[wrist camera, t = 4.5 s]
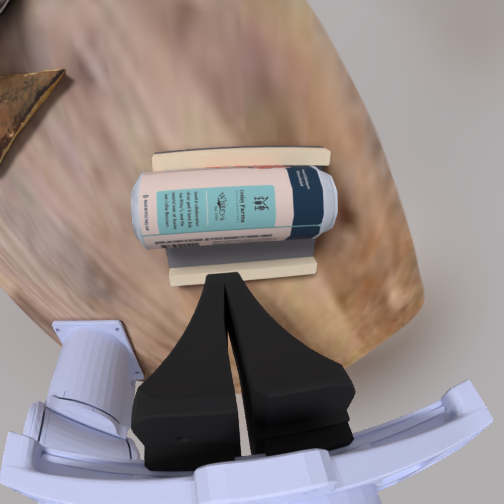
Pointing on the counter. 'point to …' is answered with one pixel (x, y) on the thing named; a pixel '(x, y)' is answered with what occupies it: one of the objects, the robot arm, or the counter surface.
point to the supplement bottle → (3, 4)
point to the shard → (22, 101)
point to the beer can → (232, 205)
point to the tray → (241, 254)
